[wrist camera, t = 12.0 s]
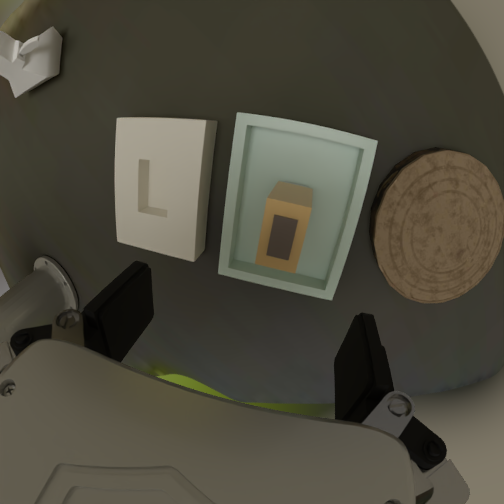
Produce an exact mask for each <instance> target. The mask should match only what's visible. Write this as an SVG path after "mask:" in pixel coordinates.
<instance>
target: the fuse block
mask: <svg viewBox="0 0 504 504" xmlns="http://www.w3.org/2000/svg"><path fill="white" fill-rule="evenodd" d="M217 123H218V121H213V120H202V119H187V118H166V117H125V118H117V126H116V143H115V211H116V229H117V242H121V243H124V244H128V245H132V246H135V247H139V248H143V249H147V250H150V251H154V252H158V253H162V254H165V255H169V256H173V257H177V258H181V259H185V260H188V261H192V262H195V261H196V259H197V258H198V257H199V256H200V255H201V254H202V252H203V251H204V250H205V239H206V227H207V215H208V203H209V193H210V183H211V173H212V164H213V155H214V147H215V138H216V131H217Z"/></svg>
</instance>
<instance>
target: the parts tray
mask: <svg viewBox="0 0 504 504" xmlns="http://www.w3.org/2000/svg"><path fill="white" fill-rule="evenodd" d="M377 142H378V141H376V140H372V139H369V138H365V137H362V136H358V135H355V134H351V133H347V132H343V131H339V130H335V129H331V128H327V127H322V126H318V125H313V124H308V123H303V122H298V121H293V120H287V119H281V118H275V117H269V116H262V115H255V114H247V113H239V112H237V117H236V124H235V131H234V138H233V145H232V153H231V161H230V168H229V176H228V185H227V193H226V201H225V210H224V219H223V228H222V238H221V248H220V258H219V268H218V274H221V275H225V276H229V277H233V278H237V279H241V280H245V281H249V282H253V283H257V284H262V285H266V286H270V287H274V288H278V289H283V290H287V291H291V292H296V293H300V294H304V295H309V296H313V297H318V298H322V299H327V300H331V301H332V298H333V296H334V293H335V290H336V287H337V285H338V282H339V279H340V276H341V273H342V270H343V267H344V264H345V261H346V258H347V255H348V252H349V249H350V246H351V242H352V239H353V236H354V233H355V229H356V226H357V222H358V219H359V215H360V212H361V208H362V205H363V201H364V197H365V193H366V190H367V186H368V182H369V178H370V173H371V169H372V165H373V161H374V156H375V151H376V147H377ZM278 181H281V182H283V181H287V182H291V183H296V184H300V185H304V186H309V188H312V189H313V194H312V210H311V214H310V218H309V222H308V226H307V230H306V234H305V238H304V242H303V246H302V250H301V254H300V257H299V261H298V265H297V269H296V272H295V274H294V273H290V272H286V271H282V270H278V269H274V268H270V267H266V266H262V265H258V264H255V260H256V254H257V249H258V244H259V238H260V233H261V227H262V222H263V216H264V211H265V205H266V200H267V197H268V195H269V194H270V192H271V191H272V190H273V188H274V187H275V185H276V184H277V182H278Z"/></svg>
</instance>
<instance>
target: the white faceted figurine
mask: <svg viewBox="0 0 504 504" xmlns="http://www.w3.org/2000/svg"><path fill="white" fill-rule="evenodd" d="M62 39H63V38H62V37H61V35H60V34H59V33H58V32H57V31H56V29H55V28H54V27H53V26H52V27H51V28H49V29H48V30H46V31H45V32H44V33H42V34H41V35H39V36H36V37H34V38H31V39H29V40H28V41H26V42H25V43H24V44H23V43H22V42H20V41H17V40H14V39H13V38H12V37H10V36H9V35H7V34H6V33H5V32H2V31H0V75H2V76H3V77H5V78H6V79H8V80H9V82H10V85H11V88H12V91H13V93H14V96H15V98H16V97H18V96H20V95H22V94H24V93H26V92H28V91H30V90H32V89H34V88H36V87H37V86H39V85H40V84H42V83H44V82H45V81H47V80H49V79H51V78H52V77H54V76H56V75H58V74H59V71H60V57H61V47H62Z"/></svg>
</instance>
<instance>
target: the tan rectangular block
mask: <svg viewBox="0 0 504 504" xmlns="http://www.w3.org/2000/svg"><path fill="white" fill-rule="evenodd" d="M312 194H313V189H312V188H309V186H304V185H300V184H296V183H291V182H287V181H283V182H281V181H278V182H277V184H276V185H275V187H274V188H273V190H272V191H271V192H270V194H269V195H268V197H267V200H266V205H265V211H264V216H263V222H262V227H261V233H260V238H259V244H258V249H257V254H256V260H255V264H258V265H262V266H266V267H270V268H274V269H278V270H282V271H286V272H290V273H294V274H295V272H296V269H297V265H298V261H299V257H300V254H301V250H302V246H303V242H304V238H305V234H306V230H307V226H308V222H309V218H310V214H311V210H312Z"/></svg>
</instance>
